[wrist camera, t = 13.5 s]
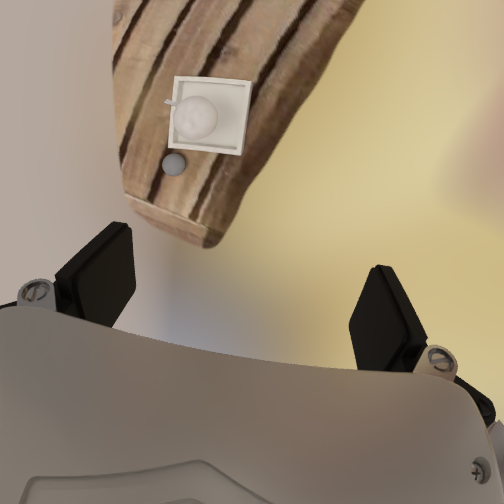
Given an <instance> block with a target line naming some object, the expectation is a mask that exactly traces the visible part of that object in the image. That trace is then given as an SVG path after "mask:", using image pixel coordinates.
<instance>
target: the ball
mask: <svg viewBox="0 0 504 504" xmlns="http://www.w3.org/2000/svg"><path fill="white" fill-rule="evenodd" d="M162 166H163V170H164V172H165V173H166V174H168V175H170V176H177V175H179V174H181V173H182V172H183V171H184V168H185V160H184V158H183V157H182V156H181V155H179V154H176V153H172V154H169V155H168V156H166V157H165V159H164V160H163V164H162Z"/></svg>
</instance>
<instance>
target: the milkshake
mask: <svg viewBox="0 0 504 504" xmlns="http://www.w3.org/2000/svg"><path fill="white" fill-rule="evenodd" d="M164 103H166V104H169V105H172V106H175V107H176V109H175V111H174V114H173V123H174V127H175V129H176V131H177V132H178V133H179V134H180V135H181V136H182V137H184V138H186V139H188V140H199V139H203V138H205V137H207V136H208V135H210V134H211V133H212V132H213V131H214V129H215V128H217V127H218V126H219V125H220V124H222V122H223V120H224V118H225V112H224V108H223V107H222V106H221V105H219V104H218V103H216V102H214V101H211V100H208V99H206V98H204V97H201V96H191V97H187V98H185V99H184V100H182V101H181V102H180V103H177V102H174V101H172V100H169V99H166V100H165V101H164Z"/></svg>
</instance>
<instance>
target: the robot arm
mask: <svg viewBox="0 0 504 504" xmlns="http://www.w3.org/2000/svg"><path fill="white" fill-rule="evenodd" d="M55 278H56V281H55V282H54V283H52V282H51V281H49V280H47V279H35V280H32V281H29V282H28V283H26V284H24V286H22V287H21V289H20V290H19V292H18V296H17V301H15V302H12V303H8V304H5V305H1V306H0V504H504V425H503V424H502V423H501V421H500V420H498V421H497V422H495V416H496V412H495V408H494V406H493V403H492V401H491V400H490V399H489V398H487V397H486V396H485V395H483V394H482V393H481V392H479V391H478V390H476V389H475V388H474V387H472V386H470V385H469V384H468V383H466V382H465V381H464V380H462V379H461V378H459V377H458V376H457V375H456V373H457V369H458V365H457V361H456V359H455V357H454V356H453V355H452V353H451V352H450V351H448V350H447V349H446V348H444V347H442V346H438V345H430V346H428V345H427V343H426V340H427V338H428V337H427V335H426V333H425V330H424V328H423V326H422V325H421V322H420V320H419V318H418V316H417V314H416V312H415V310H414V308H413V306H412V304H411V302H410V300H409V298H408V297H407V294H406V292H405V291H404V289H403V287H402V285H401V283H400V281H399V279H398V278H397V276H396V274H395V272H394V270H393V269H392V267H390V266H383V265H376V267H375V268H371V270H370V272H369V275H368V277H367V280H366V282H365V285H364V288H363V290H362V293H361V295H360V297H359V300H358V302H357V305H356V307H355V309H354V312H353V314H352V316H351V318H350V322H349V331H350V335H351V340H352V345H353V349H354V354H355V359H356V364H357V369H358V370H352V369H338V368H326V367H316V366H305V365H297V364H288V363H280V362H272V361H265V360H258V359H251V358H245V357H239V356H233V355H227V354H222V353H216V352H210V351H206V350H201V349H196V348H191V347H186V346H182V345H177V344H173V343H168V342H164V341H160V340H156V339H152V338H148V337H144V336H140V335H136V334H132V333H128V332H124V331H121V330H117V329H114V328H112V326H113V325H114V323H115V322H116V320H117V319H118V317H119V315H120V314H121V312H122V311H123V309H124V307H125V306H126V304H127V303H128V301H129V300H130V298H131V297H132V295H133V294H134V292H135V289H136V279H135V268H134V257H133V242H132V230H131V228H130V227H128V224H127V223H121V222H115V221H113V222H112V223H110V224H109V225H108V226H107V227H106V228H105V229H104V230H102V231H101V232H100V233H99V234H98V235H97V236H96V237H94V238H93V239H92V240H91V241H90V242H89V243H88V244H87V245H86V246H84V248H82V249H81V250H80V251H79V252H78V253H77V254H76V255H75V256H74V257H73V258H72V259H70V261H68V262H67V263H66V264H65V265H64V266H63V267H62V268H61V269H60V270H59V271H58V272H57V273H56V274H55Z"/></svg>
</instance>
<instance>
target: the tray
mask: <svg viewBox="0 0 504 504" xmlns="http://www.w3.org/2000/svg"><path fill="white" fill-rule="evenodd" d="M252 87H253V82H252V81H246V80H237V79H226V78H212V77H191V76H175V78H174V86H173V95H172V101H174V102H177V103H180V102H181V101H182V100H184V99H185V98H187V97H191V96H201V97H204V98H206V99H208V100H211V101H214V102H216V103H218V104H219V105H221V106H222V107H223V108H224V112H225V118H224V120H223V122H222V124H220V125H219V126H218V127H217V128H215V129H214V131H213V132H212V133H211V134H210V135H208V136H207V137H205V138H203V139H199V140H188V139H186V138H184V137H182V136H181V135H180V134H179V133H178V132H177V131H176V129H175V127H174V123H173V114H174V111H175V109H176V107H175V106H172V105H171V115H170V127H169V140H168V148H178V149H189V150H199V151H208V152H217V153H225V154H233V155H240V156H241V155H242V153H243V150H244V143H245V136H246V128H247V121H248V114H249V107H250V100H251V94H252Z"/></svg>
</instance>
